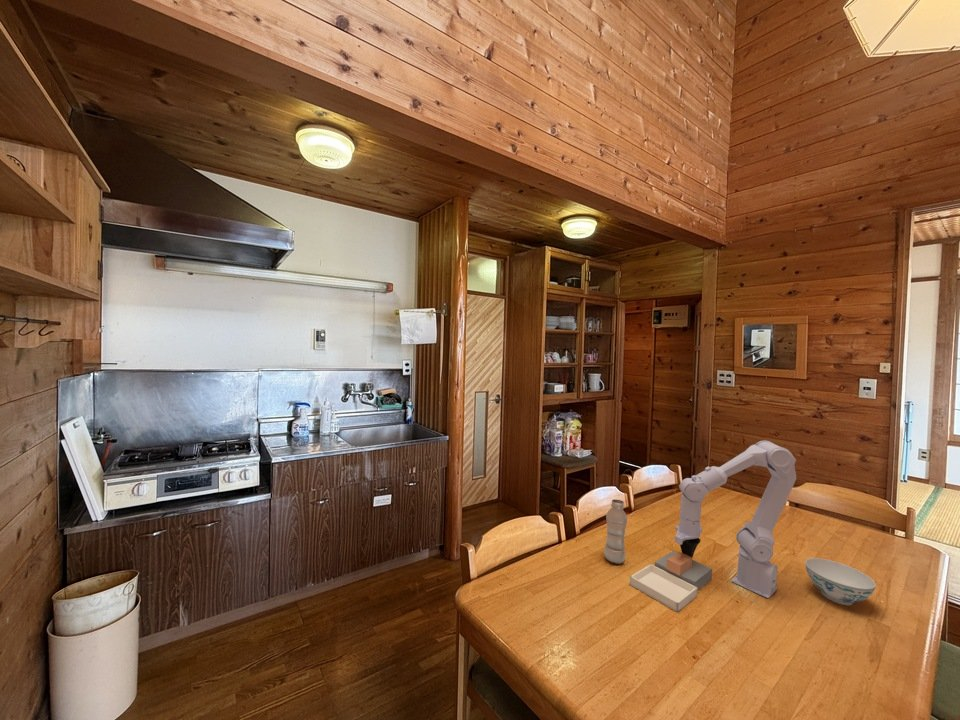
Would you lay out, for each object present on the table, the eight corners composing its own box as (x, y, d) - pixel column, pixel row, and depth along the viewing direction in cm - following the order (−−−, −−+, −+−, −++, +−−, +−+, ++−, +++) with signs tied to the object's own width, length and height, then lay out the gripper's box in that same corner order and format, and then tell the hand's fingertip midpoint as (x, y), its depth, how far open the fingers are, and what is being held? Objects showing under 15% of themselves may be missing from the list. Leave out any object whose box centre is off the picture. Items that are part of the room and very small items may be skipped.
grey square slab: (711, 579, 117) (712, 568, 116) (694, 593, 109) (695, 581, 109) (672, 561, 126) (673, 550, 126) (654, 572, 119) (654, 561, 119)
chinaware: (862, 593, 113) (864, 568, 113) (882, 623, 100) (885, 595, 100) (798, 576, 121) (800, 552, 121) (809, 602, 108) (812, 576, 108)
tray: (697, 596, 108) (697, 587, 108) (677, 612, 101) (678, 603, 101) (650, 571, 119) (650, 563, 119) (629, 584, 112) (630, 576, 112)
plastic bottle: (626, 568, 121) (630, 506, 120) (604, 564, 122) (608, 504, 121) (623, 557, 127) (626, 499, 126) (602, 554, 128) (606, 496, 128)
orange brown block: (691, 567, 117) (692, 557, 117) (685, 571, 114) (686, 561, 114) (678, 560, 120) (679, 551, 120) (672, 564, 118) (673, 555, 117)
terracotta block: (685, 571, 114) (686, 561, 114) (679, 575, 112) (680, 565, 112) (672, 564, 118) (673, 555, 117) (666, 568, 115) (667, 559, 115)
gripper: (687, 507, 126) (684, 547, 127) (666, 518, 117) (663, 560, 118) (710, 515, 121) (707, 557, 121) (689, 527, 112) (686, 571, 112)
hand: (687, 559), depth 119 cm, fingers closed
